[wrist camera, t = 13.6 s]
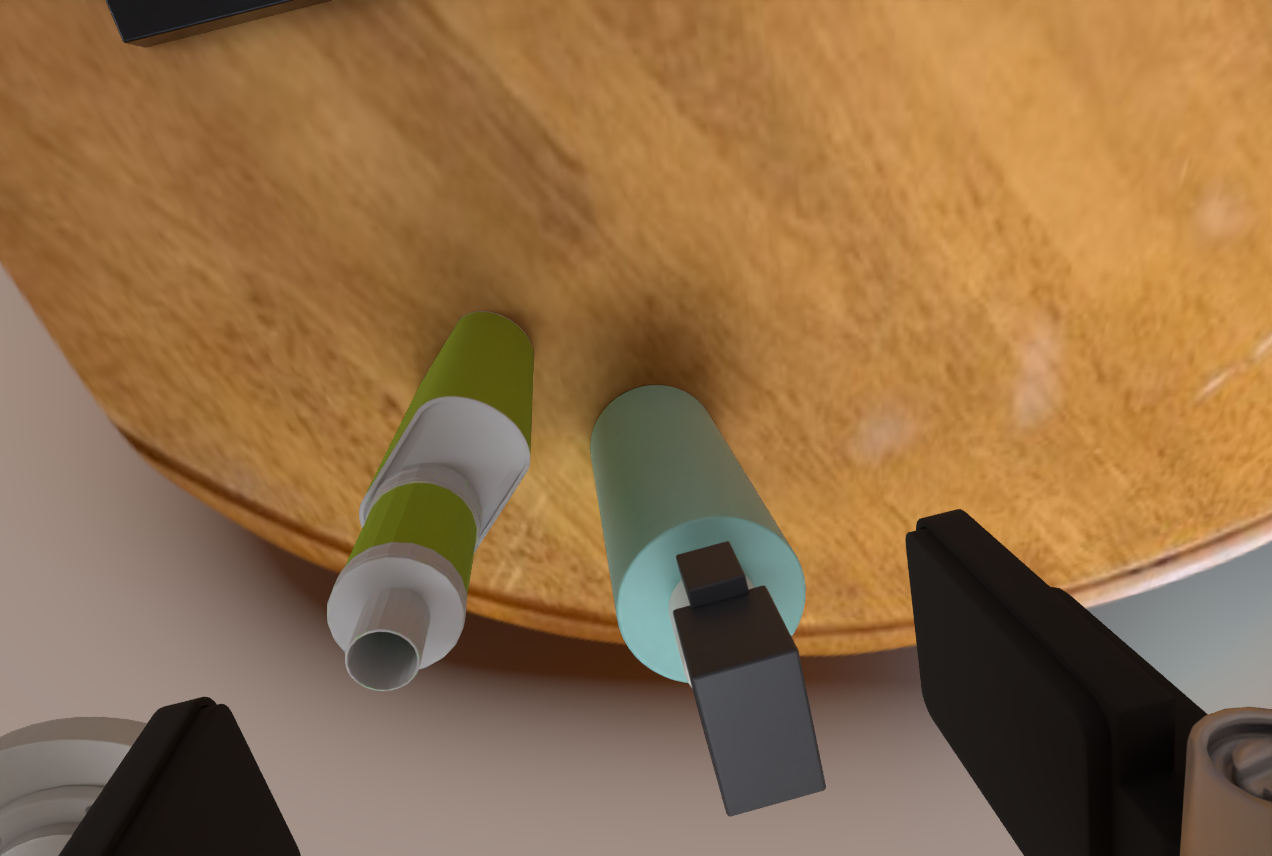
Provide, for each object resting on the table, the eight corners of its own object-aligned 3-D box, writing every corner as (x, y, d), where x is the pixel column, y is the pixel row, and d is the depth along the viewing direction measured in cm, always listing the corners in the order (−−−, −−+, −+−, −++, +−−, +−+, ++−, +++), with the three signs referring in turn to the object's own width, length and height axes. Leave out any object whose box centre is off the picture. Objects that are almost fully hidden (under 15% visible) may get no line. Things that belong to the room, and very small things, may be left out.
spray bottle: (575, 403, 37) (611, 670, 18) (701, 370, 37) (864, 601, 19) (607, 516, 39) (669, 860, 21) (727, 484, 39) (896, 796, 21)
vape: (405, 408, 36) (260, 693, 18) (472, 296, 35) (393, 476, 16) (477, 449, 37) (414, 758, 19) (546, 341, 36) (551, 559, 17)
